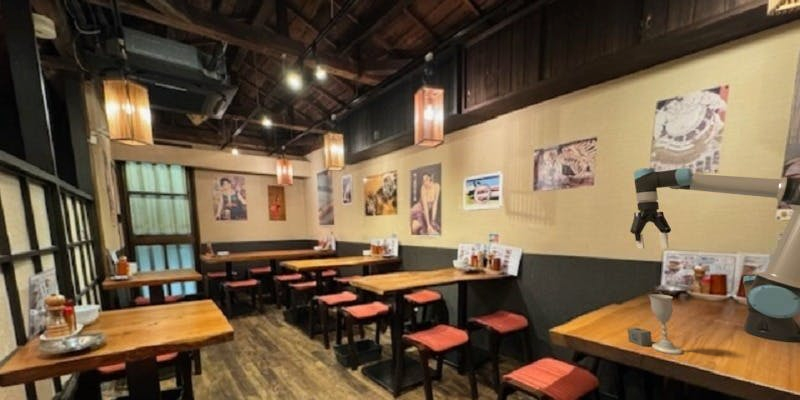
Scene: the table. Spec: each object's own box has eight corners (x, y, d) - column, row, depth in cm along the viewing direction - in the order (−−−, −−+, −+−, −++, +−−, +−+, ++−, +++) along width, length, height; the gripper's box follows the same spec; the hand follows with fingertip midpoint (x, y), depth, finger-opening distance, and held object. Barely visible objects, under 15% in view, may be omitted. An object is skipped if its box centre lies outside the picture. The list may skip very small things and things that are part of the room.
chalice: (672, 352, 103) (665, 299, 104) (649, 345, 109) (643, 295, 111) (683, 348, 106) (677, 296, 107) (661, 342, 112) (655, 293, 114)
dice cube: (638, 340, 117) (637, 327, 117) (652, 344, 112) (650, 331, 113) (629, 342, 116) (627, 328, 116) (642, 346, 111) (640, 332, 111)
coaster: (676, 347, 109) (675, 344, 109) (686, 356, 102) (686, 353, 102) (649, 344, 112) (648, 341, 112) (657, 352, 105) (656, 350, 105)
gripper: (660, 202, 143) (665, 246, 141) (617, 202, 138) (622, 248, 136) (677, 200, 136) (683, 246, 134) (633, 201, 131) (638, 249, 129)
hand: (652, 247), depth 135 cm, fingers open, 13 cm apart
